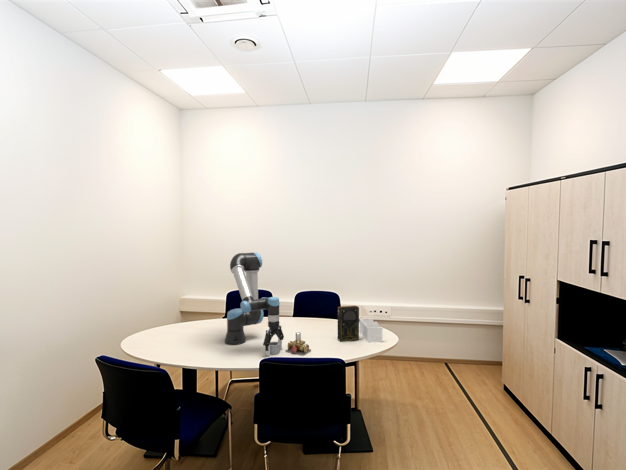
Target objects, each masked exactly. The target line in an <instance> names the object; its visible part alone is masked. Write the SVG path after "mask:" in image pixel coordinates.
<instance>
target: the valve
mask: <svg viewBox="0 0 626 470" xmlns="http://www.w3.org/2000/svg"><path fill="white" fill-rule="evenodd" d="M301 334H302V332H300V331H297V332H295V339H294V340H293V341H291V340H290V341H289V340H288V343H287V349H286V350H285V352H286V353H289V354H294V355H298V356H301V357H302V356H305V355H306V354H308V353H310V352H311V351H312V349H310V345H309V344H308V343H306V340H302V339H301V338H302V335H301Z"/></svg>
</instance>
